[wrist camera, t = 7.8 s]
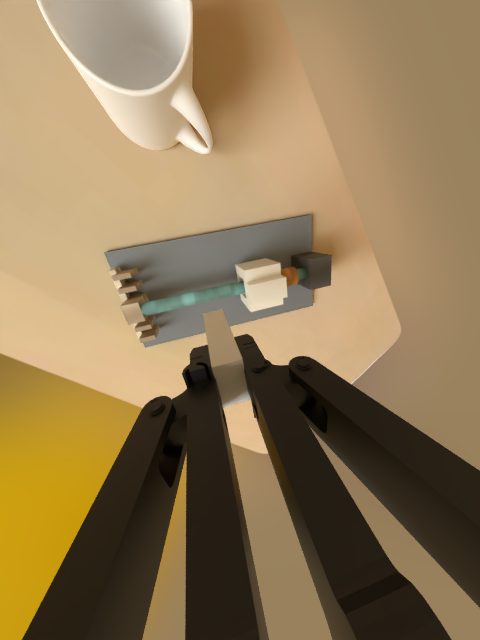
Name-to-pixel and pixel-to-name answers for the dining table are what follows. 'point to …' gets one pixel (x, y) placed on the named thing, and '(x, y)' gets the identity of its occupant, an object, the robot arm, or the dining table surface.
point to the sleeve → (262, 284)
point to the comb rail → (134, 303)
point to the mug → (136, 65)
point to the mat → (214, 272)
